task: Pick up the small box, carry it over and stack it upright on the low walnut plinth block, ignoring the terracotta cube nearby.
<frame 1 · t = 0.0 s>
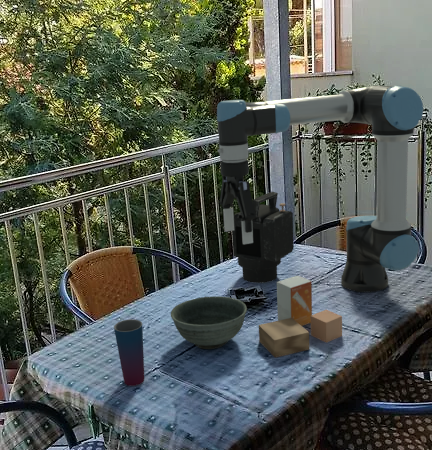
hand: (238, 236, 161), 28 cm above the table, fingers open, 13 cm apart
cup: (134, 381, 146), on the table
walnut plinth: (283, 345, 158), on the table
bowl: (211, 342, 163), on the table
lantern: (263, 277, 208), on the table
terracotta cube: (326, 335, 162), on the table
small box: (295, 323, 171), on the table
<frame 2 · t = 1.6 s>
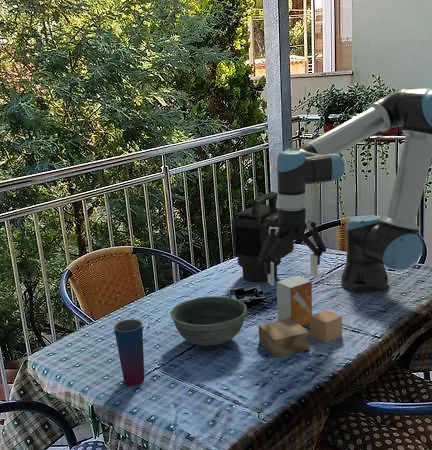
hand: (292, 280, 167), 13 cm above the table, fingers open, 13 cm apart
nothing on the table moved.
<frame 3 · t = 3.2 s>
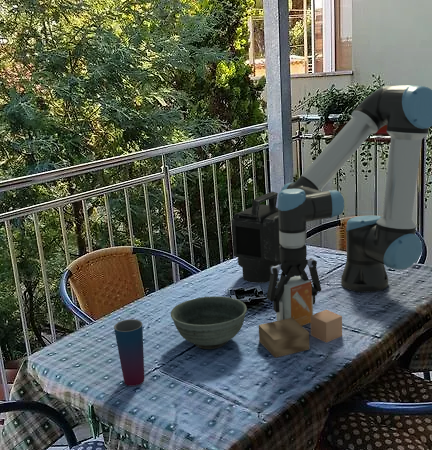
hand: (294, 318, 171), 1 cm above the table, fingers closed on small box, 9 cm apart
small box: (295, 323, 171), on the table, touching gripper
everything else where it was.
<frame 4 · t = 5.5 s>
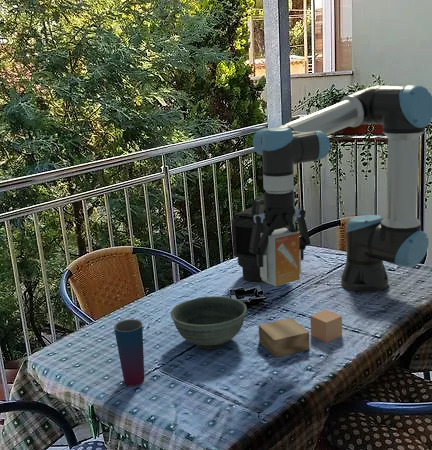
hand: (280, 274, 154), 20 cm above the table, fingers closed on small box, 9 cm apart
small box: (280, 280, 154), point 18 cm above the table, touching gripper
everything else where it was.
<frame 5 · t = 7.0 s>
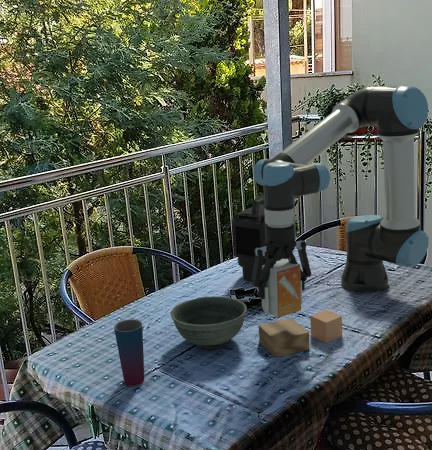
hand: (282, 305, 155), 12 cm above the table, fingers closed on small box, 9 cm apart
small box: (282, 311, 156), point 10 cm above the table, touching gripper
everything else where it was.
when the fingers open (8 cm above the table, at t = 8.2 s): small box drops 1 cm, resting on walnut plinth.
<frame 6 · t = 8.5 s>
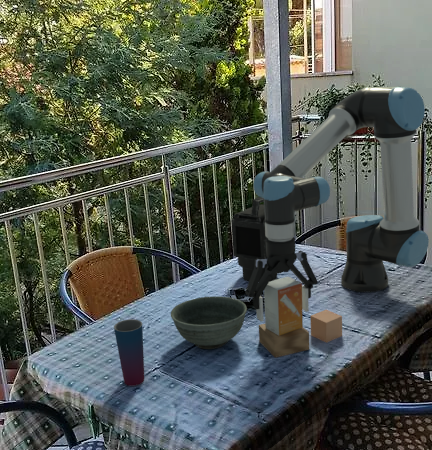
hand: (282, 314, 156), 9 cm above the table, fingers open, 12 cm apart
small box: (284, 328, 157), point 5 cm above the table, touching walnut plinth
everything else where it was.
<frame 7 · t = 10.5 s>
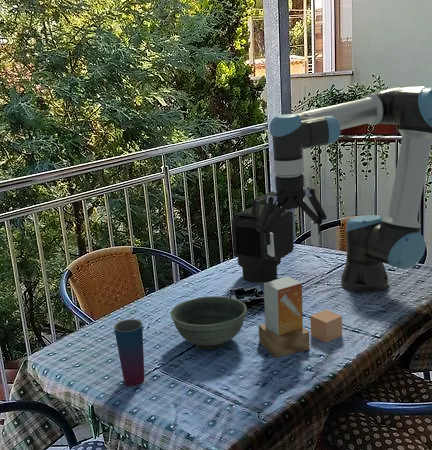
hand: (293, 250, 161), 24 cm above the table, fingers open, 13 cm apart
nothing on the table moved.
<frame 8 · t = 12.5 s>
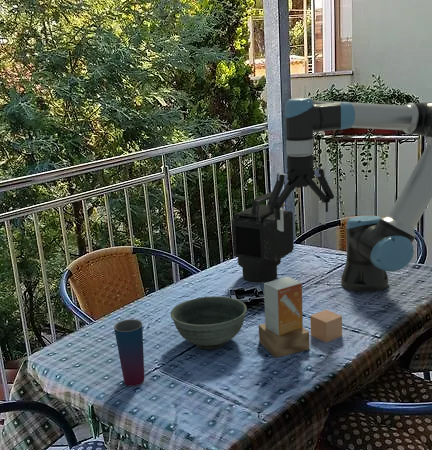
hand: (301, 226, 171), 27 cm above the table, fingers open, 13 cm apart
nothing on the table moved.
at the end: small box inside the target area on the walnut plinth (0.3 cm from its centre), point 4.8 cm above the walnut plinth's base; small box tilted 0°; the gripper is holding nothing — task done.
